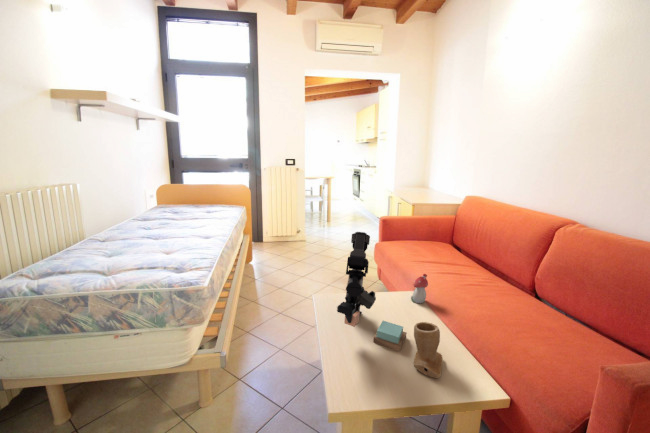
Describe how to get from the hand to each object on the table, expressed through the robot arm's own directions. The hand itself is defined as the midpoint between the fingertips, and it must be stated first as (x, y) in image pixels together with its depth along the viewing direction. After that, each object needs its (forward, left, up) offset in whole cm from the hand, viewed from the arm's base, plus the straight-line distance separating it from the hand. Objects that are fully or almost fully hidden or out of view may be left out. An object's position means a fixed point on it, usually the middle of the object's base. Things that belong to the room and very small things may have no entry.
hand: (351, 320), depth 125 cm
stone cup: (-3, +30, -10) cm, 32 cm away
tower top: (-10, +14, -7) cm, 18 cm away
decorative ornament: (-53, +17, -10) cm, 57 cm away
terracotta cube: (0, 0, -1) cm, 1 cm away
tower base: (-10, +14, -10) cm, 20 cm away
